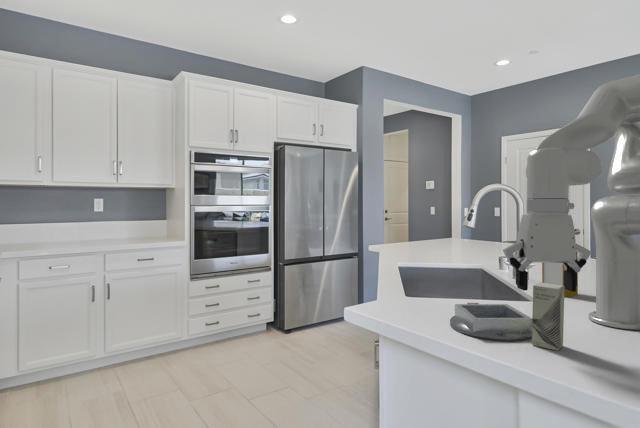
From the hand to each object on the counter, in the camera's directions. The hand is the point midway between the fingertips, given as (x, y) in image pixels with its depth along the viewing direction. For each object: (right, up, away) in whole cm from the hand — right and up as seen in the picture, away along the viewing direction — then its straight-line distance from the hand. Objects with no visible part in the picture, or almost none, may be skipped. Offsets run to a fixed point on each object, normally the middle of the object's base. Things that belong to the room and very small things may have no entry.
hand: (545, 289), depth 79 cm
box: (+1, -12, +1) cm, 12 cm away
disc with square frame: (-6, -12, +15) cm, 20 cm away
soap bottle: (+30, -11, +45) cm, 56 cm away
